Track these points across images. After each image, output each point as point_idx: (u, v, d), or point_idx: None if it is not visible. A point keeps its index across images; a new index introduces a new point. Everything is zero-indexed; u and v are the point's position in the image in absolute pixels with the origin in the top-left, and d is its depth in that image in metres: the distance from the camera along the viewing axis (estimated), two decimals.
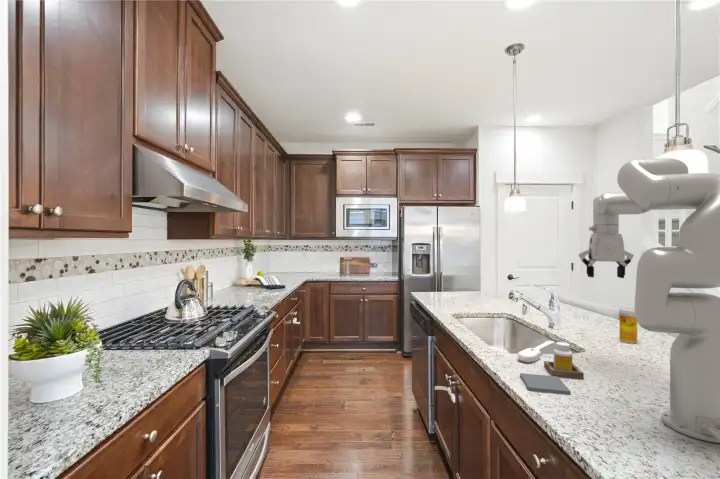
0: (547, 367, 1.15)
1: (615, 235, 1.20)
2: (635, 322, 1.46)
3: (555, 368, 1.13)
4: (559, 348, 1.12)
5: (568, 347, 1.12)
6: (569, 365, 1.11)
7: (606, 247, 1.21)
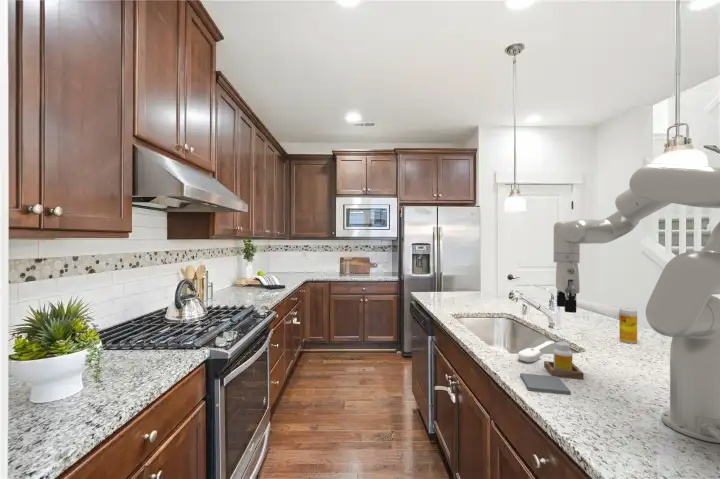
0: (547, 367, 1.15)
1: None
2: (635, 322, 1.46)
3: (555, 368, 1.13)
4: (559, 348, 1.12)
5: (568, 347, 1.12)
6: (569, 365, 1.11)
7: None
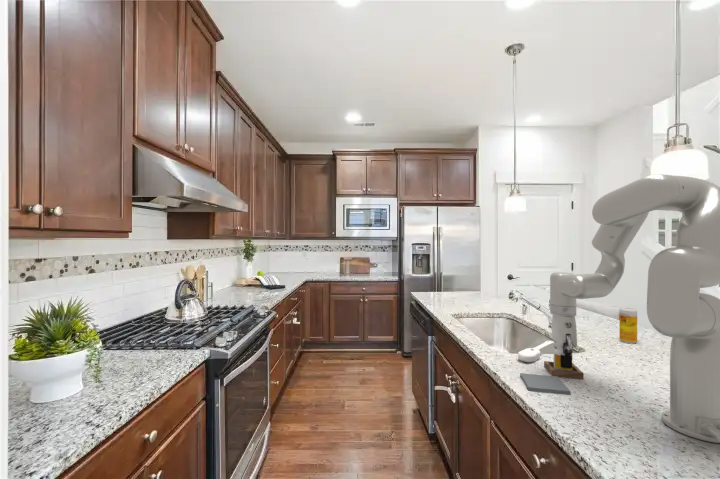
0: (547, 367, 1.15)
1: None
2: (635, 322, 1.46)
3: (555, 368, 1.13)
4: (559, 348, 1.12)
5: None
6: None
7: None
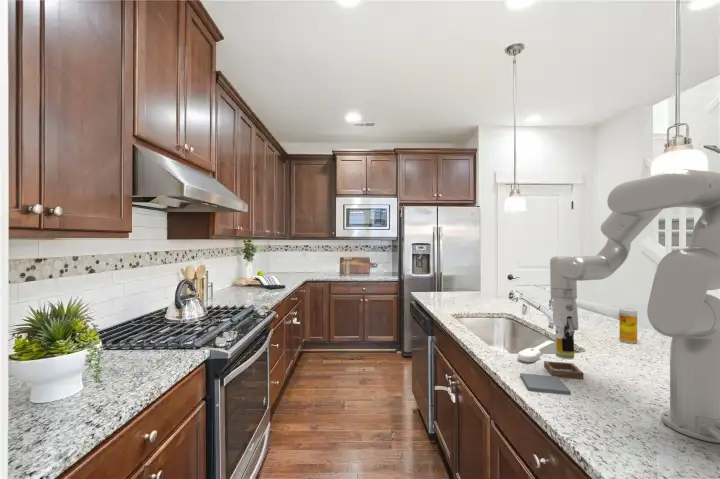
0: (547, 367, 1.15)
1: None
2: (635, 322, 1.46)
3: (557, 352, 1.12)
4: (560, 332, 1.12)
5: None
6: None
7: None
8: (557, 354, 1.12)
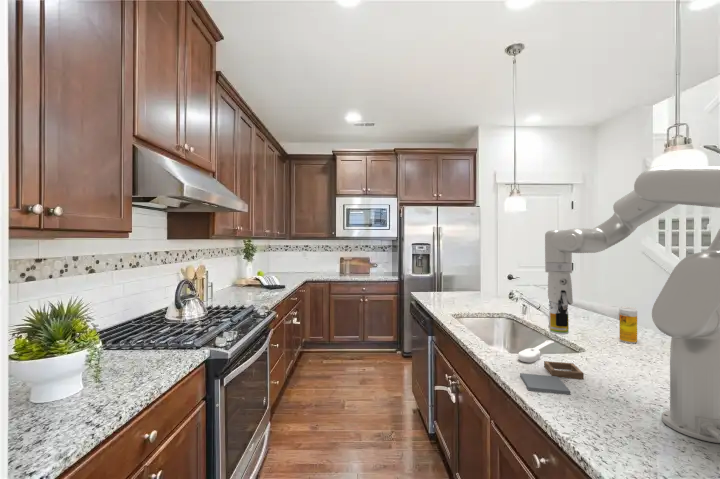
0: (547, 367, 1.15)
1: None
2: (635, 322, 1.46)
3: (551, 327, 1.10)
4: (554, 307, 1.10)
5: None
6: None
7: None
8: (551, 329, 1.10)
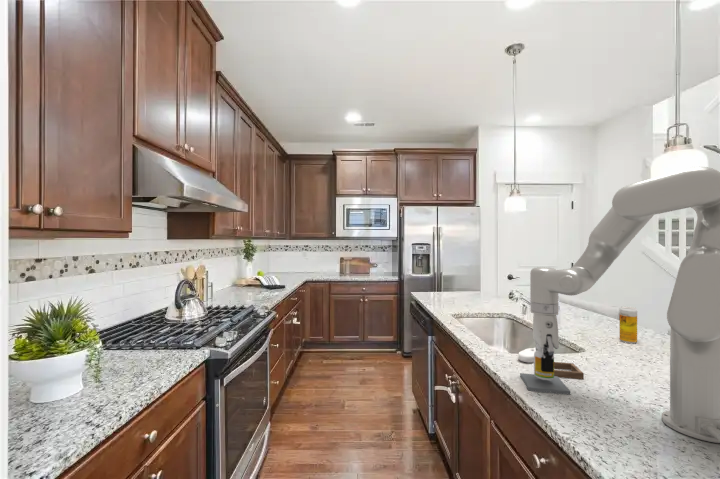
0: None
1: None
2: (635, 322, 1.46)
3: (535, 372, 1.03)
4: (540, 350, 1.03)
5: None
6: None
7: None
8: (536, 374, 1.03)
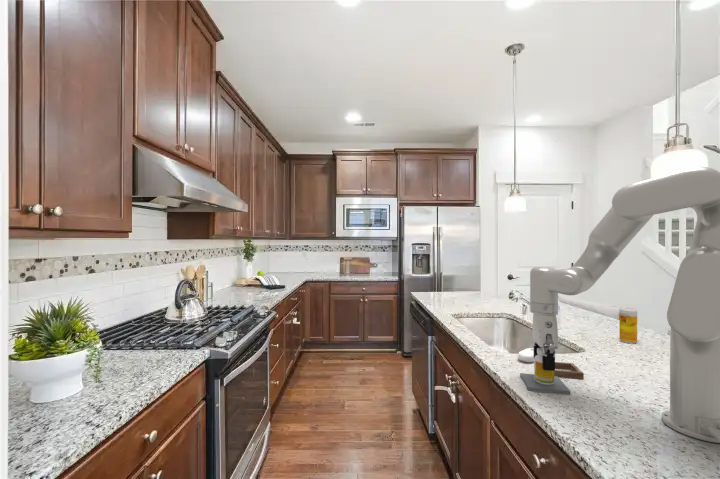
0: None
1: None
2: (635, 322, 1.46)
3: (536, 376, 1.03)
4: (540, 355, 1.03)
5: None
6: (551, 374, 1.01)
7: None
8: (536, 378, 1.03)
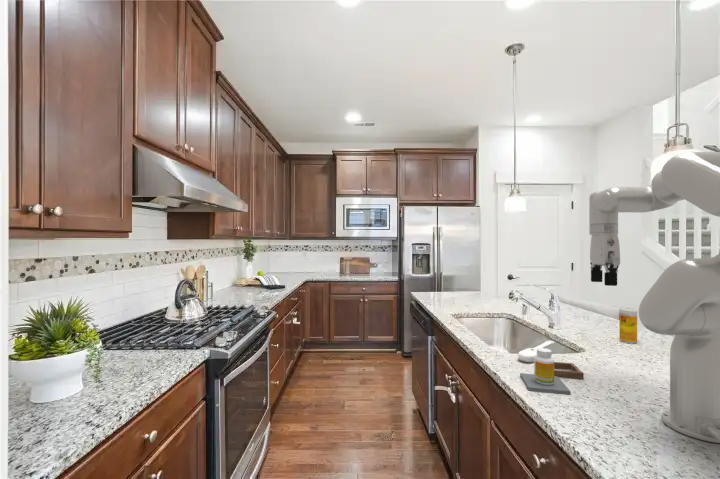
0: None
1: None
2: (635, 322, 1.46)
3: (536, 376, 1.03)
4: (540, 355, 1.03)
5: (550, 354, 1.02)
6: (551, 374, 1.01)
7: None
8: (536, 378, 1.03)
